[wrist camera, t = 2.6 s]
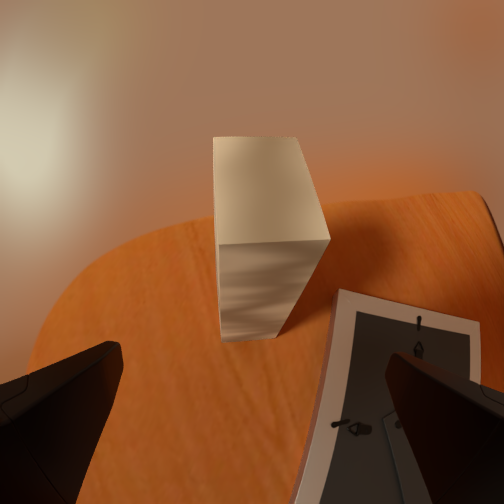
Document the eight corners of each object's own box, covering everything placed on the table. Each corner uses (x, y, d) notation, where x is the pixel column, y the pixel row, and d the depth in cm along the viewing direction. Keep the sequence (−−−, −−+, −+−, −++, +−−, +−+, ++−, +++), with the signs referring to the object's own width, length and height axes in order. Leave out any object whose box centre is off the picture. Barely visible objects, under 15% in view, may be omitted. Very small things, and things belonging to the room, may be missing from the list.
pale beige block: (221, 342, 21) (218, 244, 10) (215, 270, 24) (213, 137, 13) (275, 338, 22) (330, 238, 11) (264, 267, 25) (296, 137, 14)
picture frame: (439, 527, 13) (466, 329, 24) (457, 532, 10) (484, 319, 21) (273, 539, 13) (330, 298, 24) (280, 552, 11) (342, 283, 22)
